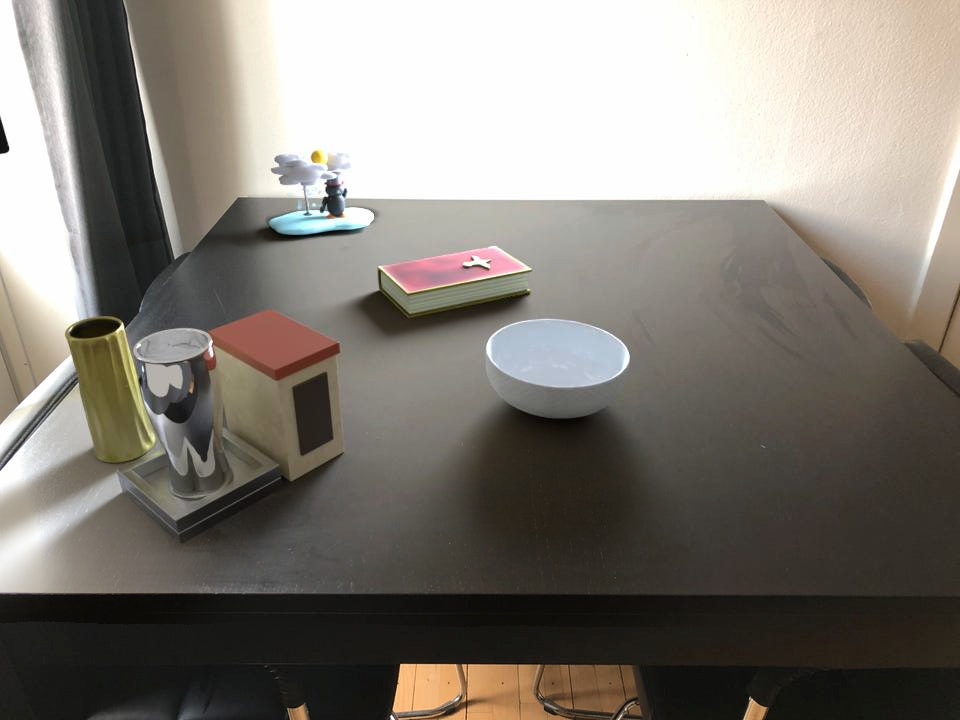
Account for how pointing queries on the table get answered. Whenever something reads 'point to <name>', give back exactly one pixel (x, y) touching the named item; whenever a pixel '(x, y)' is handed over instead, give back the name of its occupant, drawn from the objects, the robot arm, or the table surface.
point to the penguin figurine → (309, 175)
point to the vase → (109, 389)
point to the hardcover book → (453, 281)
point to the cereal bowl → (556, 367)
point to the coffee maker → (255, 421)
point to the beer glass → (185, 408)
